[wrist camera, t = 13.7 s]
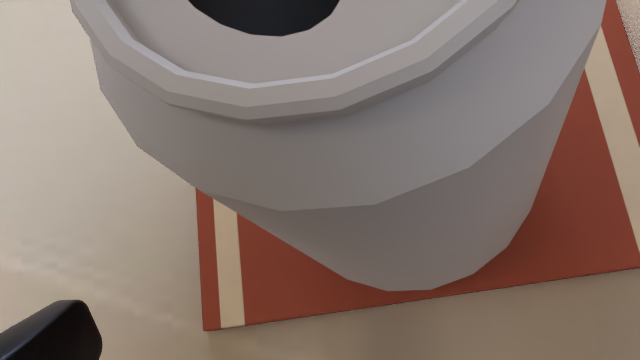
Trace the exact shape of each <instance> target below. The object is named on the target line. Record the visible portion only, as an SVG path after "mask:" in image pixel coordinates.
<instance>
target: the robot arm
mask: <svg viewBox="0 0 640 360" xmlns="http://www.w3.org/2000/svg"><path fill="white" fill-rule="evenodd" d="M101 352H102V338H101V335H100V333H99V330H98V328H97V326H96V324H95V322H94V319H93V317H92V315H91V313H90V310H89V308H88V306H87V305H86V304H85V303H84V302H83V301H81V300H60V301H56V302H54V303H52V304H50V305H49V306H47V307H45V308H43V309H42V310H40V311H38V312H37V313H35V314H33V315H31V316H30V317H28V318H26V319H24V320H23V321H21V322H19V323H17V324H16V325H14V326H12V327H10V328H9V329H7V330H5V331H3V332H2V333H0V360H99V358H100V355H101Z"/></svg>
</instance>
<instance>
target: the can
mask: <svg viewBox="0 0 640 360" xmlns="http://www.w3.org/2000/svg"><path fill="white" fill-rule="evenodd" d="M70 2H71V7H72V12H73V13H74V15H75V16H76V18H77V19H78V21H79V22H80V24H81V25H82V27H83V28H84V30H85V31H86V33H87V34H88V36H89V37H90V41H91V46H92V50H93V55H94V60H95V65H96V70H97V74H98V79H99V84H100V89H101V91H102V92H103V94H104V95H105V97H106V98H107V100H108V102H109V103H110V105H111V106H112V108H113V109H114V111H115V112H116V114H117V115H118V117H119V119H120V120H121V122H122V123H123V125H124V126H125V128H126V129H127V131H128V132H129V134H130V135H131V137H132V139H133V140H134V142H135V143H136V145H137V146H138V147H139V148H140V149H142V150H143V151H145V152H146V153H147V154H149V155H150V156H152V157H153V158H155V159H156V160H157V161H159V162H160V163H162V164H163V165H164V166H166V167H167V168H169V169H170V170H171V171H173V172H174V173H176V174H177V175H179V176H180V177H181V178H183V179H184V180H186V181H187V182H188V183H190V184H191V185H193V186H194V187H196V188H197V189H198V190H200V191H202V192H203V193H205V194H207V195H208V196H210V197H212V198H213V199H215V200H216V201H218V202H220V203H221V204H223V205H225V206H226V207H228V208H230V209H231V210H233V211H235V212H236V213H238V214H240V215H241V216H243V217H245V218H246V219H248V220H250V221H251V222H253V223H255V224H256V225H258V226H260V227H261V228H263V229H264V230H266V231H268V232H269V233H271V234H273V235H274V236H276V237H278V238H279V239H281V240H283V241H284V242H286V243H288V244H289V245H291V246H293V247H294V248H296V249H298V250H299V251H301V252H303V253H304V254H306V255H308V256H309V257H311V258H312V259H314V260H316V261H317V262H319V263H321V264H322V265H324V266H326V267H327V268H329V269H331V270H332V271H334V272H336V273H337V274H339V275H341V276H342V277H344V278H346V279H347V280H351V281H354V282H358V283H361V284H364V285H368V286H371V287H375V288H378V289H382V290H385V291H408V290H432V289H434V288H437V287H440V286H442V285H445V284H448V283H451V282H453V281H456V280H459V279H462V278H464V277H467V276H470V275H472V274H474V273H475V272H476V271H478V270H479V269H480V268H481V267H483V266H484V265H485V264H486V263H488V262H489V261H490V260H491V259H493V258H494V257H495V256H496V255H498V254H499V253H500V252H501V251H503V250H504V249H505V248H506V247H507V246H508V245H509V243H510V242H511V240H512V239H513V237H514V235H515V234H516V232H517V231H518V229H519V228H520V226H521V225H522V223H523V221H524V220H525V218H526V217H527V215H528V214H529V212H530V210H531V208H532V205H533V202H534V200H535V197H536V195H537V192H538V189H539V187H540V184H541V181H542V179H543V176H544V173H545V171H546V168H547V166H548V163H549V160H550V158H551V155H552V152H553V150H554V147H555V144H556V142H557V139H558V136H559V134H560V131H561V129H562V126H563V123H564V121H565V118H566V115H567V113H568V110H569V107H570V105H571V102H572V99H573V97H574V94H575V92H576V89H577V86H578V84H579V81H580V78H581V76H582V73H583V70H584V68H585V65H586V63H587V60H588V57H589V55H590V52H591V49H592V47H593V44H594V41H595V39H596V36H597V33H598V31H599V28H600V26H601V23H602V18H603V14H604V9H605V4H606V0H70Z"/></svg>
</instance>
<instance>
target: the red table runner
mask: <svg viewBox="0 0 640 360" xmlns="http://www.w3.org/2000/svg"><path fill="white" fill-rule="evenodd" d="M196 201H197V220H198V240H199V259H200V278H201V298H202V317H203V331H213V330H219V329H226V328H233V327H240V326H247V325H253V324H260V323H267V322H274V321H281V320H288V319H294V318H301V317H308V316H315V315H322V314H328V313H335V312H342V311H349V310H356V309H362V308H369V307H376V306H383V305H390V304H396V303H403V302H410V301H417V300H424V299H431V298H437V297H444V296H451V295H458V294H465V293H471V292H478V291H485V290H492V289H499V288H505V287H512V286H519V285H526V284H533V283H539V282H546V281H553V280H560V279H567V278H573V277H580V276H587V275H594V274H601V273H608V272H614V271H621V270H628V269H635V268H640V73H639V70H638V67H637V64H636V61H635V58H634V55H633V52H632V49H631V46H630V43H629V40H628V37H627V34H626V31H625V28H624V25H623V22H622V19H621V16H620V13H619V10H618V7H617V4H616V1H615V0H606V4H605V9H604V14H603V18H602V23H601V26H600V28H599V31H598V33H597V36H596V39H595V41H594V44H593V47H592V49H591V52H590V55H589V57H588V60H587V63H586V65H585V68H584V70H583V73H582V76H581V78H580V81H579V84H578V86H577V89H576V92H575V94H574V97H573V99H572V102H571V105H570V107H569V110H568V113H567V115H566V118H565V121H564V123H563V126H562V129H561V131H560V134H559V136H558V139H557V142H556V144H555V147H554V150H553V152H552V155H551V158H550V160H549V163H548V166H547V168H546V171H545V173H544V176H543V179H542V181H541V184H540V187H539V189H538V192H537V195H536V197H535V200H534V202H533V205H532V208H531V210H530V212H529V214H528V215H527V217H526V218H525V220H524V221H523V223H522V225H521V226H520V228H519V229H518V231H517V232H516V234H515V235H514V237H513V239H512V240H511V242H510V243H509V245H508V246H507V247H506V248H505V249H504V250H503V251H501V252H500V253H499V254H498V255H496V256H495V257H494V258H493V259H491V260H490V261H489V262H488V263H486V264H485V265H484V266H483V267H481V268H480V269H479V270H478V271H476V272H475V273H474V274H472V275H470V276H467V277H464V278H462V279H459V280H456V281H453V282H451V283H448V284H445V285H442V286H440V287H437V288H434V289H432V290H408V291H385V290H382V289H378V288H375V287H371V286H368V285H364V284H361V283H358V282H354V281H351V280H347V279H346V278H344V277H342V276H341V275H339V274H337V273H336V272H334V271H332V270H331V269H329V268H327V267H326V266H324V265H322V264H321V263H319V262H317V261H316V260H314V259H312V258H311V257H309V256H308V255H306V254H304V253H303V252H301V251H299V250H298V249H296V248H294V247H293V246H291V245H289V244H288V243H286V242H284V241H283V240H281V239H279V238H278V237H276V236H274V235H273V234H271V233H269V232H268V231H266V230H264V229H263V228H261V227H260V226H258V225H256V224H255V223H253V222H251V221H250V220H248V219H246V218H245V217H243V216H241V215H240V214H238V213H236V212H235V211H233V210H231V209H230V208H228V207H226V206H225V205H223V204H221V203H220V202H218V201H216V200H215V199H213V198H212V197H210V196H208V195H207V194H205V193H203V192H202V191H200V190H198V189H197V188H196Z"/></svg>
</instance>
